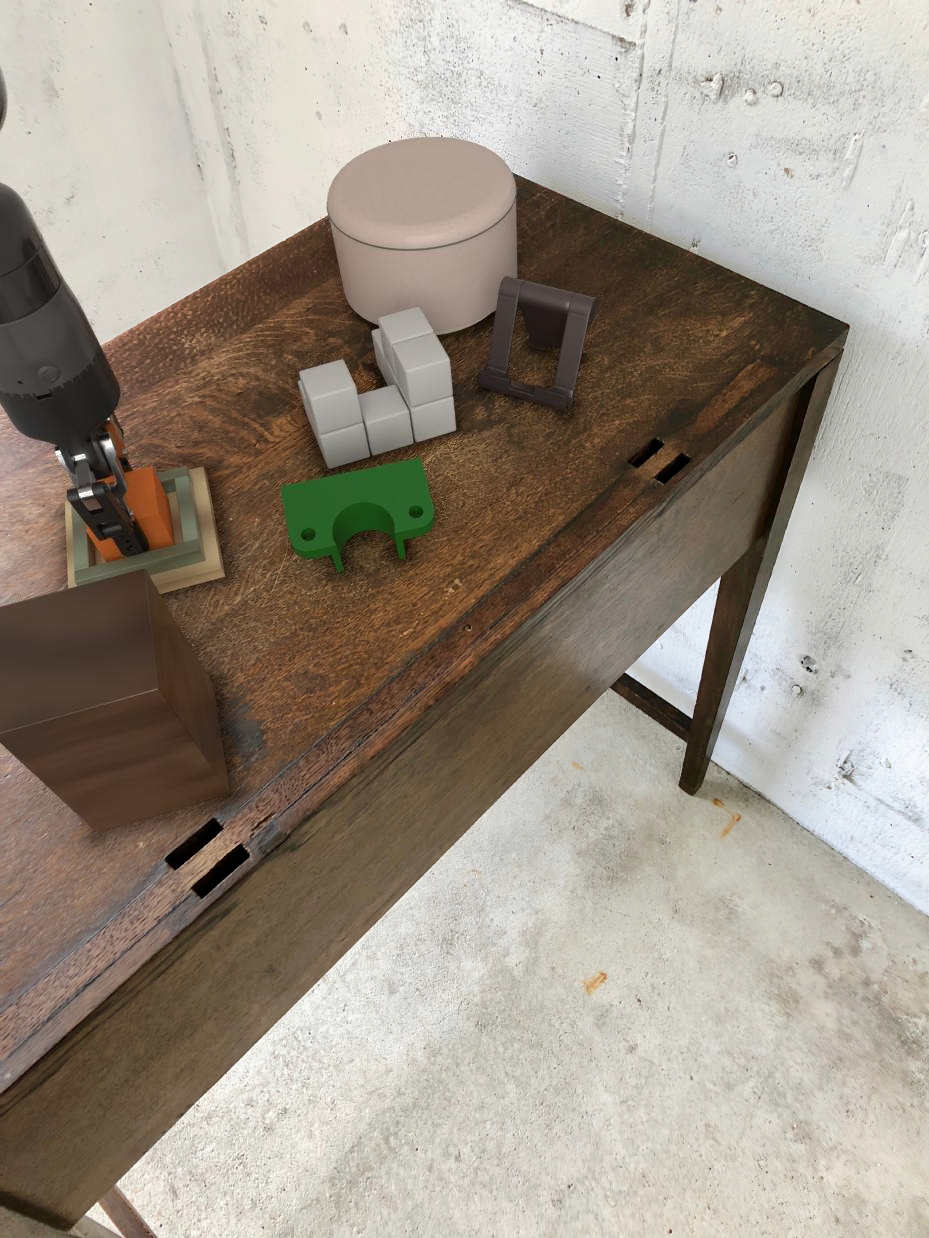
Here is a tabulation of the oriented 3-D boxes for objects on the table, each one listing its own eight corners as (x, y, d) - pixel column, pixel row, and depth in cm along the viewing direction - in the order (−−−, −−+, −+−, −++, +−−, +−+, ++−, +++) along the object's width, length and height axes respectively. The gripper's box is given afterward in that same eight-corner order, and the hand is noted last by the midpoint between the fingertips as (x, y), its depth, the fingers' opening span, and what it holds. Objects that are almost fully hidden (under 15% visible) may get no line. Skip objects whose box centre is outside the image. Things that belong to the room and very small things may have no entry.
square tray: (225, 576, 70) (215, 555, 68) (75, 617, 69) (60, 596, 67) (207, 475, 77) (197, 453, 75) (70, 510, 76) (56, 488, 74)
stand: (230, 794, 59) (158, 688, 48) (97, 833, 58) (-9, 735, 47) (214, 685, 64) (145, 567, 53) (91, 720, 63) (-6, 607, 52)
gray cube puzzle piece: (414, 353, 85) (405, 280, 79) (457, 431, 78) (450, 358, 72) (295, 387, 83) (275, 315, 77) (328, 470, 77) (309, 399, 70)
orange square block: (175, 546, 71) (158, 513, 67) (107, 564, 70) (86, 531, 67) (168, 499, 74) (152, 465, 70) (103, 516, 73) (83, 482, 70)
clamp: (335, 596, 74) (272, 563, 66) (323, 534, 76) (261, 495, 68) (462, 543, 70) (411, 502, 62) (445, 480, 73) (395, 432, 64)
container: (452, 221, 98) (443, 112, 88) (554, 295, 89) (556, 182, 79) (313, 285, 93) (288, 176, 83) (407, 370, 84) (391, 258, 74)
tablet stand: (477, 391, 81) (472, 314, 74) (513, 341, 85) (511, 263, 78) (564, 417, 79) (567, 339, 72) (598, 364, 82) (604, 285, 76)
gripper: (-18, 303, 61) (84, 475, 75) (-24, 437, 53) (92, 603, 67) (91, 279, 62) (171, 453, 76) (101, 407, 54) (189, 577, 67)
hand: (134, 523), depth 71 cm, fingers closed on orange square block, 5 cm apart
